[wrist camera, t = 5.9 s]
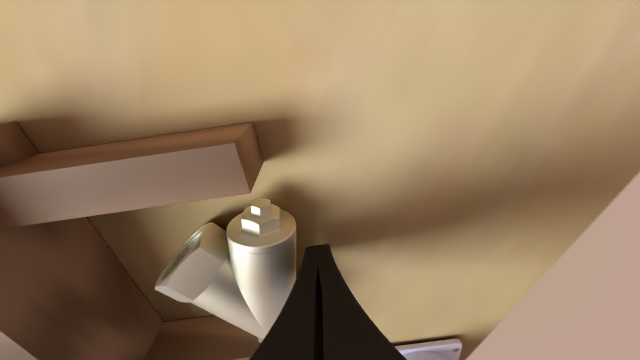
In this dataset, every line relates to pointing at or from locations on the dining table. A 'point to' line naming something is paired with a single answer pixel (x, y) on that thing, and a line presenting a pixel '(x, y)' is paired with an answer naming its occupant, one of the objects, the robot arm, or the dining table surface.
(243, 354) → the fitting jig
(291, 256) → the pipe fitting
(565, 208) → the dining table surface
